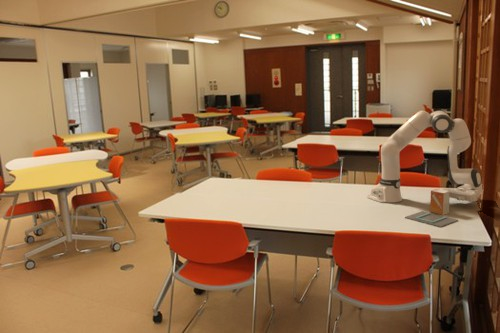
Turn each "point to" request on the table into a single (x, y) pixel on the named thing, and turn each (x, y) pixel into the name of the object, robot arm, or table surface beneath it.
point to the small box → (439, 201)
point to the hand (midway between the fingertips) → (450, 197)
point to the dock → (431, 219)
